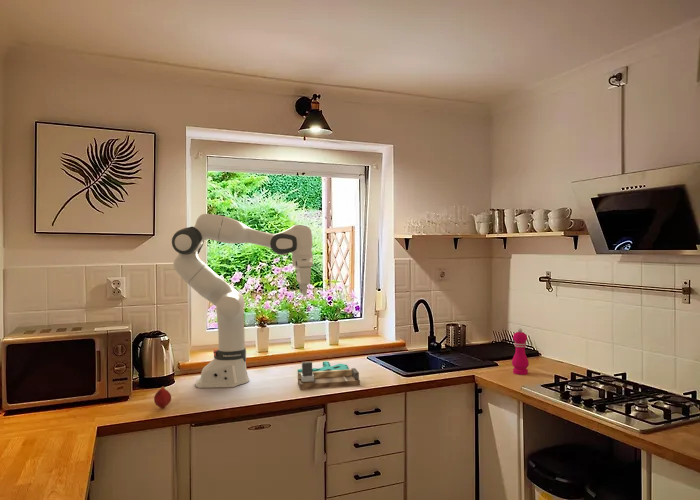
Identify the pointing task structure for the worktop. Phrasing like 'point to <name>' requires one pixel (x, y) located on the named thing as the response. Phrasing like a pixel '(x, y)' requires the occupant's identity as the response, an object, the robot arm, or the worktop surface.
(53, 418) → the worktop surface
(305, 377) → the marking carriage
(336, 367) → the alien figure
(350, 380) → the wooden slatted tray
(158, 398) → the onion
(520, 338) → the pepper mill
